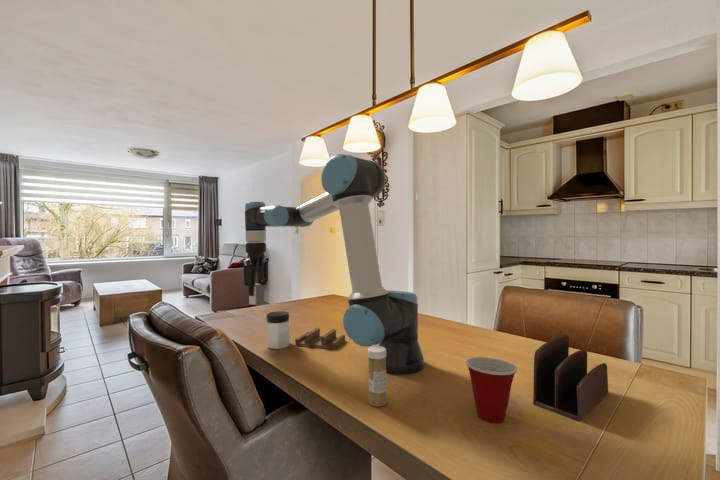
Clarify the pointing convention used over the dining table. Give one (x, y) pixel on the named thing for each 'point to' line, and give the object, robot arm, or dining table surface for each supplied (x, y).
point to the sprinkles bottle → (377, 375)
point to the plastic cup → (491, 386)
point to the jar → (277, 330)
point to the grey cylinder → (259, 293)
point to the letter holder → (567, 380)
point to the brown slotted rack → (320, 339)
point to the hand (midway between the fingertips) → (256, 302)
